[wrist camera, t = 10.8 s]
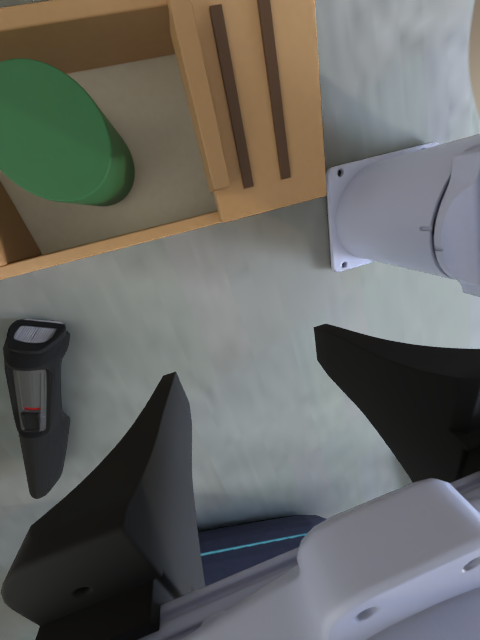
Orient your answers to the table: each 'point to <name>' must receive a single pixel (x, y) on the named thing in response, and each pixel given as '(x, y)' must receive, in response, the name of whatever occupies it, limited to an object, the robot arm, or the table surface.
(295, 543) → the portable speaker
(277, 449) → the table surface
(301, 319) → the table surface
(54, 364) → the electric trimmer
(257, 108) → the wooden organizer box
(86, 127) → the green cylinder
